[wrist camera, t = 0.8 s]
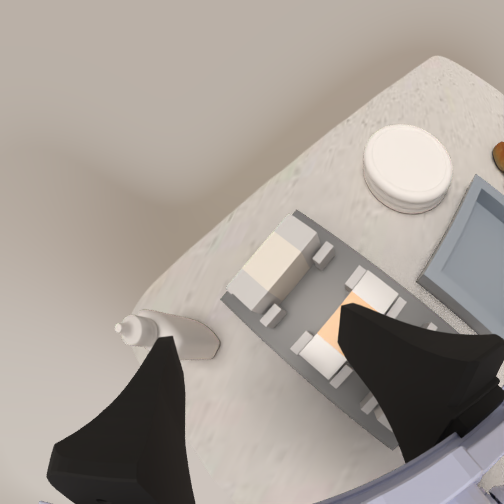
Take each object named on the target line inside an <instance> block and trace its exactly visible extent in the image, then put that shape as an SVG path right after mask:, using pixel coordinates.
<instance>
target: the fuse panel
mask: <svg viewBox="0 0 504 504" xmlns="http://www.w3.org/2000/svg"><path fill="white" fill-rule="evenodd" d="M292 215H293V216H294V217H296V218H297V219H299V220H300V221H301V222H303V223H304V224H306V225H307V226H309V227H310V228H311V229H313V230H314V231H316V232H317V234H318V237H319V241H320V244H321V248H320V250H319V251H318V252H317V253H316V254H315V256H314V257H313V258H312V259H313V261H314V264H313V265H312V266H311V267H310V269H309V270H308V271H307V272H306V274H305V275H304V276H303V277H302V278H301V280H300V281H299V282H298V283H297V284H296V286H295V287H294V288H293V289H292V290H291V291H290V293H289V294H288V295H287V296H286V297H285V299H284V300H283V301H282V302H281V303H280V304H279V306H278V305H277V304H275V303H274V305H273V306H272V307H271V308H270V309H269V310H268V312H267V313H266V314H265V315H261V314H259V313H256V312H253V311H251V310H250V309H249V308H248V307H247V306H246V305H244V304H243V303H242V302H241V301H240V300H239V299H238V298H237V297H236V296H235V295H234V294H233V293H232V292H231V291H230V290H229V289H228V288H226V290H227V292H226V293H225V294H224V296H223V297H222V298H221V299H220V300H221V301H222V302H223V303H225V304H226V305H227V306H228V307H229V308H230V309H231V310H232V311H233V312H234V313H235V314H236V315H237V316H238V317H239V318H240V319H241V320H242V321H243V322H244V323H245V324H246V325H247V326H248V327H249V328H250V329H251V330H252V331H253V332H254V333H255V334H257V335H258V336H259V337H260V338H261V339H262V340H263V341H264V342H265V343H266V344H267V345H268V346H269V347H270V348H272V349H273V350H274V351H275V352H276V353H277V354H278V355H279V356H280V357H281V358H282V359H284V360H285V361H286V362H287V363H288V364H289V365H290V366H291V367H292V368H293V369H295V370H296V371H297V372H298V373H299V374H300V375H301V376H302V377H304V378H305V379H306V380H307V381H308V382H309V383H310V384H312V385H313V386H314V387H315V388H316V389H317V390H319V391H320V392H321V393H322V394H323V395H324V396H326V397H327V398H328V399H329V400H330V401H331V402H333V403H334V404H335V405H336V406H337V407H339V408H340V409H341V410H342V411H343V412H345V413H346V414H347V415H348V416H349V417H351V418H352V419H353V420H354V421H356V422H357V423H358V424H359V425H361V426H362V427H363V428H364V429H366V430H367V431H368V432H369V433H371V434H372V435H373V436H374V437H376V438H377V439H378V440H380V441H381V442H382V443H383V444H385V445H386V446H387V447H389V448H390V449H391V450H394V449H395V448H396V447H397V446H398V445H399V444H398V442H397V440H396V437H395V435H394V433H393V432H392V431H390V430H389V429H388V428H387V427H385V426H384V425H383V424H381V423H380V422H379V421H378V420H377V418H376V416H375V413H374V410H373V409H374V407H375V406H376V405H377V404H378V402H377V400H376V399H375V397H374V396H373V394H372V393H371V391H370V390H369V389H368V387H367V386H366V385H365V383H364V382H363V381H362V380H361V378H360V377H359V376H358V374H357V373H356V372H355V370H354V369H353V368H352V366H351V365H350V364H349V362H348V361H347V360H346V361H345V363H344V364H343V365H342V366H341V367H340V368H339V369H338V370H337V371H336V373H335V374H334V375H333V376H332V377H331V378H330V379H329V380H328V379H327V378H326V377H325V376H323V375H322V374H321V373H320V372H319V371H318V370H316V369H315V368H314V367H313V366H312V365H311V364H310V363H308V362H307V361H306V360H305V359H304V358H303V357H302V356H300V355H299V353H300V352H301V351H302V350H303V349H304V347H305V346H306V345H307V344H308V343H309V342H310V341H311V340H312V338H313V337H314V336H315V335H316V334H317V333H318V332H319V330H320V329H321V328H322V327H323V326H324V324H325V323H326V322H327V321H328V320H329V319H330V317H331V316H332V315H333V314H334V313H335V311H336V310H337V309H338V308H339V306H340V305H341V304H342V303H343V301H344V300H345V299H346V298H347V296H348V295H349V294H350V293H351V291H352V290H353V289H354V287H355V286H356V285H357V284H358V282H359V281H360V280H361V278H362V277H363V276H364V274H365V273H366V272H367V270H369V271H370V272H371V273H373V274H374V275H375V276H377V277H378V278H379V279H380V280H382V281H383V282H384V283H386V284H387V285H388V286H389V287H391V288H392V289H393V290H395V291H396V292H397V293H398V295H397V297H396V298H395V300H394V301H393V302H392V304H391V305H390V307H389V308H388V309H387V311H386V312H385V313H384V315H386V316H389V317H391V318H394V319H397V320H399V321H402V322H405V323H408V324H411V325H414V326H418V327H421V328H425V329H429V330H434V331H439V332H445V333H452V334H459V333H458V332H457V331H456V330H455V329H454V328H452V327H451V326H450V325H449V324H448V323H447V322H445V321H444V320H443V319H442V318H441V317H439V316H438V315H437V314H436V313H435V312H434V311H432V310H431V309H430V308H429V307H427V306H426V305H425V304H424V303H423V302H421V301H420V300H419V299H418V298H416V297H415V296H414V295H413V294H411V293H410V292H409V291H408V290H406V289H405V288H404V287H403V286H401V285H400V284H399V283H398V282H396V281H395V280H394V279H392V278H391V277H390V276H389V275H387V274H386V273H385V272H383V271H382V270H381V269H379V268H378V267H377V266H375V265H374V264H373V263H371V262H370V261H369V260H367V259H366V258H365V257H363V256H362V255H361V254H359V253H358V252H357V251H355V250H354V249H352V248H351V247H350V246H348V245H347V244H346V243H344V242H343V241H341V240H340V239H339V238H337V237H336V236H334V235H333V234H332V233H330V232H329V231H327V230H326V229H324V228H323V227H322V226H320V225H319V224H317V223H316V222H314V221H313V220H311V219H310V218H309V217H307V216H306V215H304V214H303V213H301V212H300V211H298V210H296V211H295V212H294V213H293V214H292Z"/></svg>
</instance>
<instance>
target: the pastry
mask: <svg viewBox="0 0 504 504" xmlns="http://www.w3.org/2000/svg"><path fill="white" fill-rule="evenodd" d="M493 156H494V160H495V162H496V165H497V166H498V168H499V169H500V170H501V171H503V172H504V142H500V143H498V144H497V145H496V146H495V147H494V149H493Z"/></svg>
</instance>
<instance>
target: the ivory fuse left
mask: <svg viewBox="0 0 504 504" xmlns="http://www.w3.org/2000/svg"><path fill="white" fill-rule="evenodd" d="M320 248H321V244H320V241H319V237H318V234H317V232H316V231H314V230H313V229H311V228H310V227H309V226H307V225H306V224H304V223H303V222H301V221H300V220H299V219H297V218H296V217H294V216H293V215H291V214H290V213H288V214H287V216H286V217H285V218H284V219H283V220H282V222H281V223H280V224H279V225H278V226H277V227H276V229H275V230H274V231H273V232H272V233H271V234H270V236H269V237H268V238H267V239H266V240H265V242H264V243H263V244H262V245H261V246H260V247H259V249H258V250H257V251H256V252H255V253H254V254H253V256H252V257H251V258H250V259H249V260H248V262H247V263H246V264H245V265H244V266H243V267H242V269H241V270H240V271H239V272H238V273H237V274H236V276H235V277H234V278H233V279H232V280H231V281H230V283H229V284H228V285H227V286H226V287H227V288H228V289H229V290H230V291H231V292H232V293H233V294H234V295H235V296H236V297H237V298H238V299H239V300H240V301H241V302H242V303H243V304H244V305H246V306H247V307H248V308H249V309H250V310H251V311H253V312H256V313H259V314H261V315H265V314H266V313H267V312H268V310H269V309H270V308H271V307H272V306H273V305H274V303H275V304H277V305H278V306H279V304H280V303H281V302H282V301H283V300H284V299H285V297H286V296H287V295H288V294H289V293H290V291H291V290H292V289H293V288H294V287H295V286H296V284H297V283H298V282H299V281H300V280H301V278H302V277H303V276H304V275H305V274H306V272H307V271H308V270H309V269H310V267H311V266H312V265H313V264H314V261H313V259H312V258H313V257H314V256H315V254H316V253H317V252H318V251H319V250H320Z"/></svg>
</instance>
